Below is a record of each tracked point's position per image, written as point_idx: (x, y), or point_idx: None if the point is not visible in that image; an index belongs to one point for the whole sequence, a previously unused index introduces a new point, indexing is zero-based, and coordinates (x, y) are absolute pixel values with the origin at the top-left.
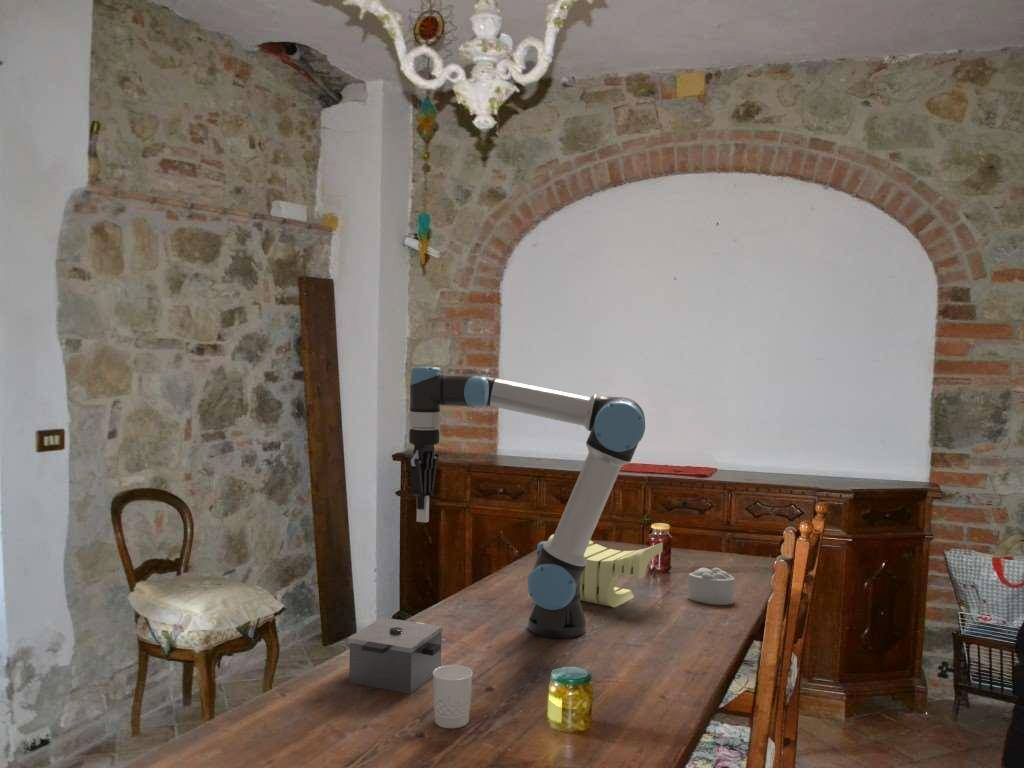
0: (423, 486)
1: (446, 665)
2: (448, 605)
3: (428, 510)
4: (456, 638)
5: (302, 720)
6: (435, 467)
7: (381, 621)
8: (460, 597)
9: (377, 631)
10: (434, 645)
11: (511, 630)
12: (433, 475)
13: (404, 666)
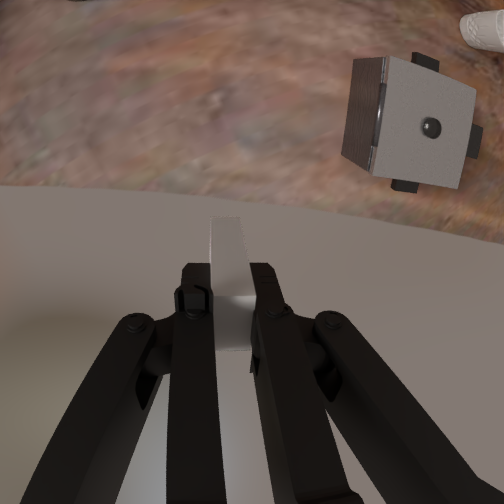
0: (306, 363)
1: (500, 39)
2: (49, 174)
3: (217, 242)
4: (203, 78)
5: (489, 175)
6: (53, 483)
7: (392, 168)
8: (10, 178)
9: (433, 157)
10: (423, 61)
11: (124, 11)
12: (107, 422)
13: None
